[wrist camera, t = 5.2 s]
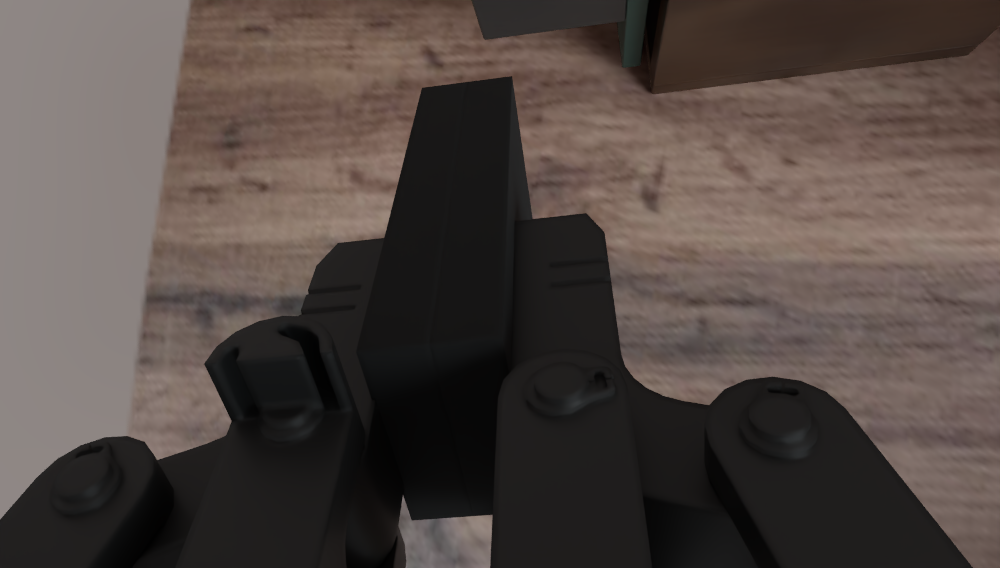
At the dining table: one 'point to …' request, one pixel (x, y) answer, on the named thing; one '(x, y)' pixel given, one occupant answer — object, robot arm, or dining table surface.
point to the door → (566, 19)
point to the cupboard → (803, 37)
